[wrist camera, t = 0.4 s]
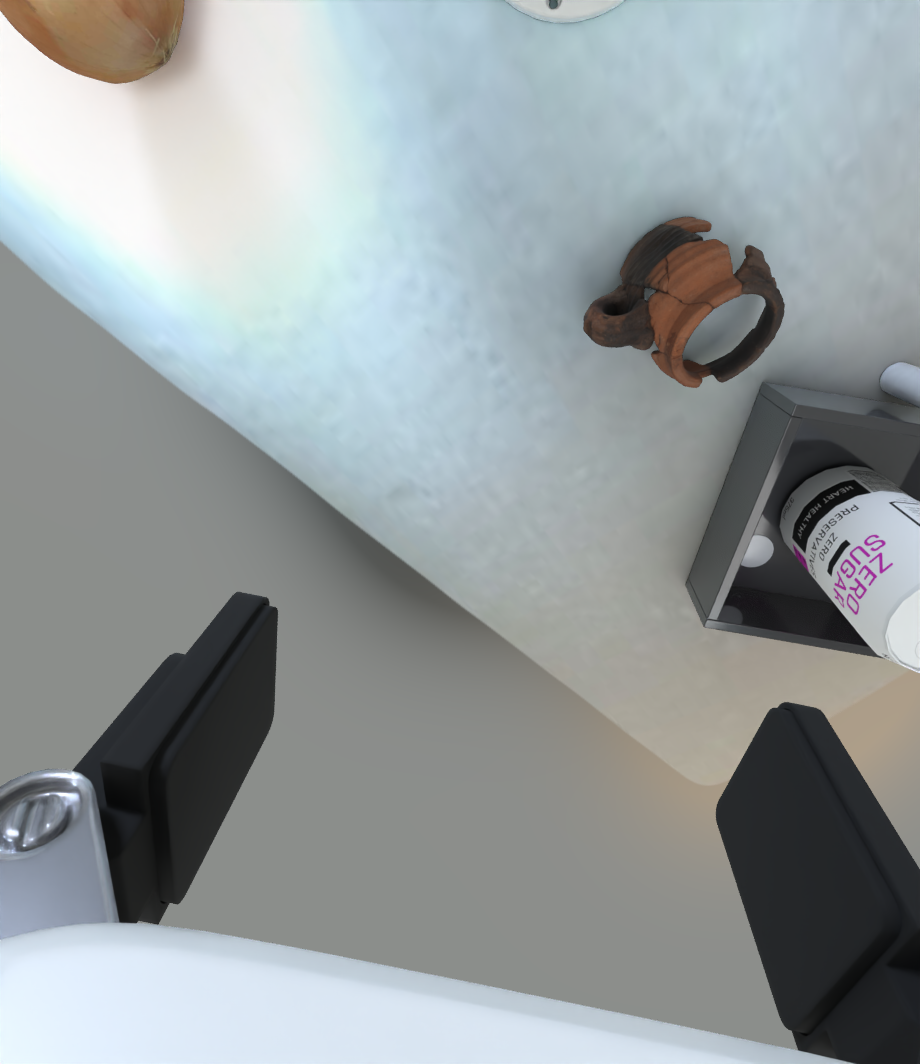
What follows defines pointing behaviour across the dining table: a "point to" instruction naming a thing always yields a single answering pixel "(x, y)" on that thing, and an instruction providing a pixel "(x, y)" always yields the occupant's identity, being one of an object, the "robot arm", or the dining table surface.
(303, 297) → the dining table surface
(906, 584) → the supplement can
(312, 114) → the dining table surface
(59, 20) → the onion
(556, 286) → the dining table surface
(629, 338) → the pottery mug
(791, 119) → the dining table surface
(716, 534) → the sink
